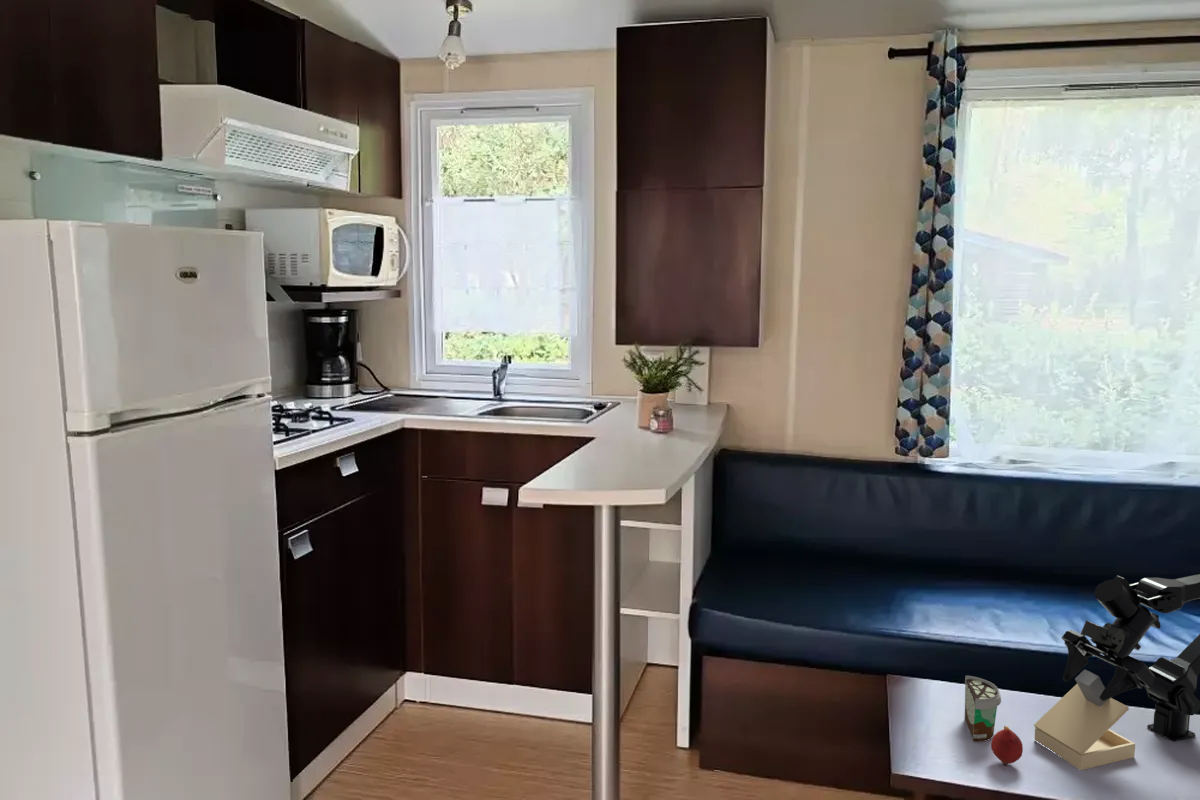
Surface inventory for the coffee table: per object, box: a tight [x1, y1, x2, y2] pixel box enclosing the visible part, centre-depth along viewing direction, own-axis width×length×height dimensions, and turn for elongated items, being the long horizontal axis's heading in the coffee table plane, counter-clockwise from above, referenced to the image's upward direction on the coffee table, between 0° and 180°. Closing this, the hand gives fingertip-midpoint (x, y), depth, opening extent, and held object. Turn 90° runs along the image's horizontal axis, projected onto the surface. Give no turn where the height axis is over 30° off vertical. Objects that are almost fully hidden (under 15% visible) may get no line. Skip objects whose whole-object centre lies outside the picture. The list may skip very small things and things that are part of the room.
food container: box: [964, 675, 1002, 743], centre depth 197 cm, size 12×6×10 cm, turn 168°
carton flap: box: [1033, 669, 1130, 756], centre depth 188 cm, size 14×12×7 cm
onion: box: [990, 725, 1024, 765], centre depth 185 cm, size 6×6×8 cm
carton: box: [1034, 727, 1136, 771], centre depth 190 cm, size 14×12×3 cm
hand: (1082, 689), depth 188 cm, fingers open, 9 cm apart
